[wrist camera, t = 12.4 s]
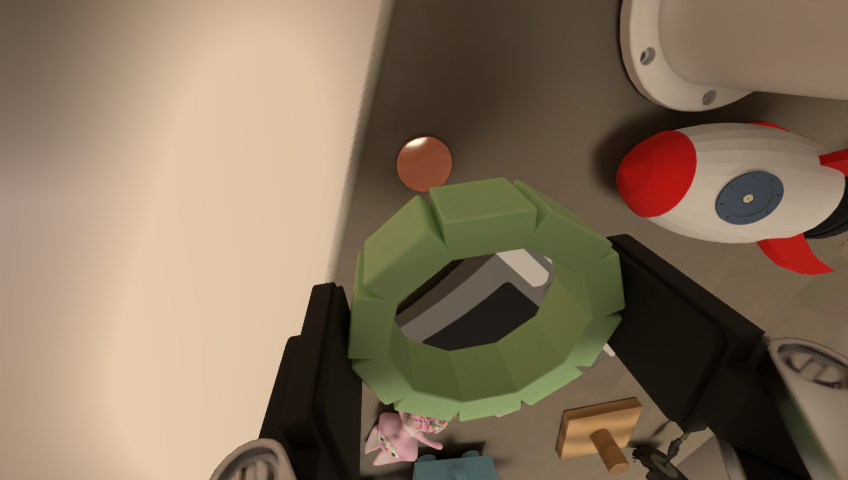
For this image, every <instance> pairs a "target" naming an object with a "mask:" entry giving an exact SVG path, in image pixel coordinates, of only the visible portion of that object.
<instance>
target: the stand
mask: <svg viewBox="0 0 848 480" xmlns="http://www.w3.org/2000/svg"><path fill="white" fill-rule="evenodd" d="M642 407H643V406H642V405H641V404H640V402H639V401H638V400H637V398H631V399H626V400H621V401H616V402H610V403H605V404H600V405H595V406H590V407H584V408H579V409H574V410H569V411H564V415H563V420H562V425H561V430H560V435H559V439H558V444H557V449H556V451H557V453H558V456H559V458H560V460H562V459H567V458H572V457H577V456H582V455H587V454H592V453H597V452H598V453H599V455H600V457H601V458H602V460H603V462H604V464H605V466H606V467H607V469H608V471H609V473H611V474H619V473H622V472H624V471H626V470H627V469H628V468H629V466H630V465H629V463H628V461H627V460H626V458H625V456H624V455H623V453H622V452H621V450H620V448H622V447H626V446H627V443H628V441H629V438H630V436H631V434H632V431H633V429H634V426H635V424H636V422H637V419H638V417H639V414H640V412H641V410H642Z"/></svg>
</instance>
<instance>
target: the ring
mask: <svg viewBox="0 0 848 480" xmlns="http://www.w3.org/2000/svg"><path fill="white" fill-rule="evenodd" d="M430 201H431V206H430V205H429V204H428V203H427V202H426V201H425V200H424V199H423V198H422V197H421V196H419V195H416V196H414V197H413V198H412V199H411V200H410V201H409V202H408V203H407V204H406V205H405V206H403V207H402V208H401V209H400V210H399V211H398V212H397V213H396V214H395V215H393V216H392V217H391V218H390V219H389V220H388V221H387V222H386V223H385V224H384V225H382V226H381V227H380V228H379V229H378V230H377V231H376V232H375V233H374V234H372V235H371V236H370V237H369V238H368V239H367V240H366V241H365V245H364V252H359V253H358V256H357V263H356V271H355V278H354V286H353V293H352V301H351V309H350V323H349V335H348V347H347V355H348V358H349V359H352V370H353V371H354V372H355V373H356V374H357V375H358V376H359V377H360V378H361V379H362V380H363V382H364V383H365V384H366V385H367V386H368V387H369V388H370V389H371V390H372V391H373V392H374V393H375V395H376V396H377V397H378V398H379V399H380V400H381V401H382V402H383V403H384V404H385V405H388V404H390V403H393V402H394V409H395V410H397V411H402V412H406V413H411V414H416V415H421V416H425V417H430V418H435V419H439V420H444V421H450V420H451V419H452V418H453V417H454V416H455V415H456V414H458V418H459V421H460V422H462V421H467V420H472V419H478V418H483V417H488V416H493V415H498V414H503V413H508V412H513V411H518V410H520V405H521V400H522V401H524V402H525V403H526V404H528V405H529V406H531V405H533V404H534V403H536V402H538V401H539V400H541V399H543V398H544V397H546V396H548V395H549V394H551V393H553V392H554V391H556V390H557V389H559V388H561V387H562V386H564V385H566V384H567V383H569V382H571V381H572V380H574V379H575V378H577V377H579V376H580V375H582V374H583V373H582V371H581V369H580V368H579V366H591V365H592V364H593V362H594V361H595V359H596V358H597V356H598V355H599V353H600V352H601V350H602V349H603V347H604V346H605V344H606V343H607V341H608V340H609V338H610V337H611V335H612V334H613V332H614V331H615V329H616V328H617V326H618V325H619V323H620V322H621V320H622V317H621V315H620V314H619V313H618V312H617V311H619V310H622V309H624V308H625V299H624V291H623V284H622V276H621V268H620V260H619V255H618V253H617V252H616V251H615V250H613V249H612V248H611V247H612V243H611V242H610V241H609V240H608V239H606V238H605V237H604V236H603V235H601V234H600V233H599V232H598V231H596V230H595V229H594V228H593V227H591V226H590V225H589V224H588V223H586V222H585V221H584V220H583V219H581V218H580V217H579V216H578V215H576V214H575V213H574V212H573V211H571V210H570V209H569V208H567V207H565V206H564V205H562V204H560V203H559V202H557V201H555V200H553V199H552V198H550V197H548V196H547V195H545V194H543V193H542V192H540V191H538V190H536V189H535V188H533V187H531V186H530V185H528V184H526V183H524V182H523V181H521V180H519V179H516V180H515V182H514V183H513V184H511V183H510V182H509V181H508V180H507V179H506V178H505V177H499V178H492V179H485V180H479V181H472V182H465V183H459V184H452V185H445V186H438V187H432V188H430ZM524 248H529V249H531V250H533V251H535V252H537V253H539V254H541V255H543V256H545V257H547V258H549V259H551V261H552V265H553V268H554V272H555V277H554V279H553V281H552V283H551V286H550V288H549V290H548V292H547V294H546V296H545V298H544V300H543V302H542V304H541V306H540V308H539V310H538V312H537V314H536V316H534V317H533V318H531V319H530V320H528V321H527V322H525V323H524V324H523V325H521V326H520V327H518V328H517V329H515V330H514V331H512V332H511V333H509V334H508V335H507V336H505V337H504V338H502V339H501V340H499V341H498V342H496V343H492V344H486V345H481V346H475V347H470V348H464V349H459V350H453V351H446V350H443V349H439V348H436V347H433V346H429V345H426V344H423V343H420V342H416V341H413V340H410V339H407V338H406V336H405V335H404V334H403V332H402V331H401V329H400V328H399V326H398V325H397V324H396V322H395V321H394V319H395V315H396V310H397V306H398V304H399V303H400V302H401V301H402V300H404V299H405V298H406V297H407V296H409V295H410V294H411V293H412V292H414V291H415V290H416V289H417V288H419V287H420V286H421V285H422V284H424V283H425V282H426V281H427V280H429V279H430V278H431V277H432V276H434V275H435V274H436V273H437V272H438V271H440V270H441V269H442V268H443V267H445V266H446V265H447V264H448V263H450V262H451V261H452V260H457V259H463V258H470V257H476V256H482V255H488V254H494V253H500V252H506V251H512V250H518V249H524Z"/></svg>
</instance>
